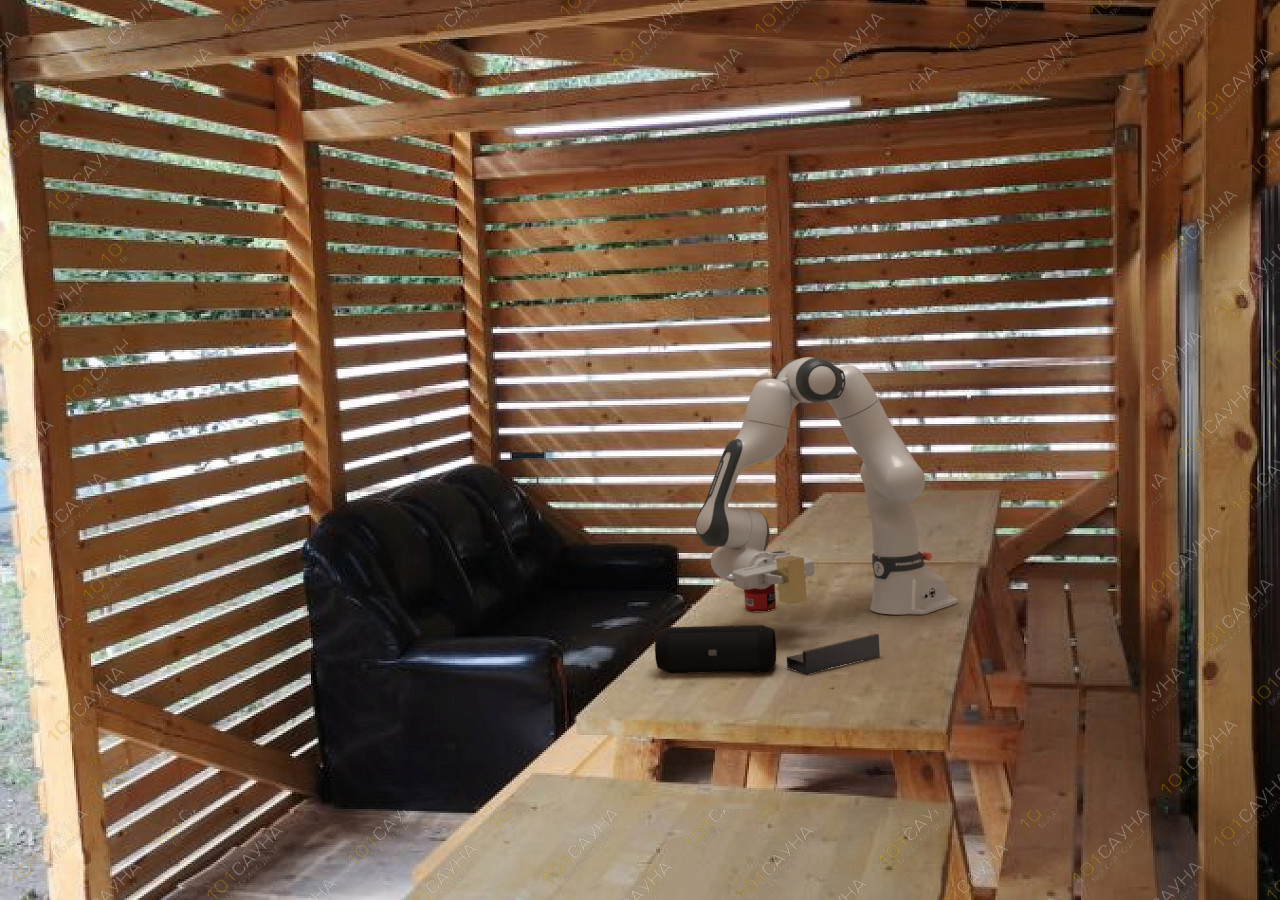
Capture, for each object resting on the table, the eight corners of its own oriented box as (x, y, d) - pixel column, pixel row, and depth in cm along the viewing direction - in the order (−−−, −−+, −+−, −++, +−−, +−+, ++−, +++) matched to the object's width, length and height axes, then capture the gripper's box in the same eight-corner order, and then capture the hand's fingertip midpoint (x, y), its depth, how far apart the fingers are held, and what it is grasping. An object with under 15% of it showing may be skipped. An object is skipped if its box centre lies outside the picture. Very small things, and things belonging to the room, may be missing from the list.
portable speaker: (656, 678, 292) (652, 633, 291) (664, 666, 302) (660, 622, 301) (773, 677, 287) (770, 631, 286) (777, 664, 297) (774, 619, 296)
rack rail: (787, 668, 292) (785, 646, 291) (859, 650, 302) (858, 629, 301) (806, 675, 286) (805, 652, 285) (879, 656, 296) (878, 634, 295)
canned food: (774, 612, 344) (771, 569, 343) (743, 613, 346) (740, 570, 344) (777, 605, 351) (775, 563, 350) (747, 605, 353) (744, 564, 352)
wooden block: (795, 597, 312) (791, 555, 310) (806, 600, 308) (803, 557, 306) (779, 601, 309) (776, 558, 308) (791, 604, 305) (787, 561, 304)
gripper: (721, 564, 314) (755, 572, 302) (791, 549, 324) (827, 556, 312) (723, 590, 314) (757, 599, 302) (793, 575, 324) (829, 583, 312)
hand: (793, 577), depth 307 cm, fingers closed on wooden block, 4 cm apart
